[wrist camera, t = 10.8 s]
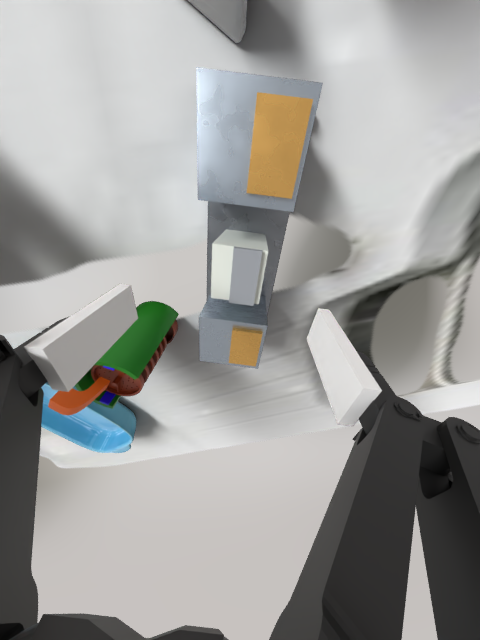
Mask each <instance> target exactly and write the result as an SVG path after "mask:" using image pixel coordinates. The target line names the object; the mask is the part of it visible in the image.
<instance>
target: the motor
mask: <svg viewBox="0 0 480 640" xmlns="http://www.w3.org/2000/svg"><path fill="white" fill-rule="evenodd" d="M136 311H137V315H138V319H137V320H136V321H135V322H134V323H133V324H132V325H131V326H130V327H129V329H128V330H127V331H126V332H125V333H124V334H123V335H122V336H121V337H120V338H119V339H118V340H117V341H116V342H115V343H114V344H113V345H112V347H111V348H110V349H109V350H108V351H107V352H106V353H105V354H104V355H103V356H102V357H101V358H100V359H99V360H98V361H97V362H96V363H95V365H94V366H93V367H92V368H91V369H90V370H89V371H88V372H87V373H86V374H85V375H84V376H83V377H82V378H81V379H80V380H79V381H78V383H77V384H76V385H75V387H76V388H77V390H78V391H77V390H75V389H73V388H72V389H71V390H70V391H69V392H65V391H58V392H57V393H56V394H55V395H54V396H53V397H52V398H51V399H50V401H49V405H48V407H49V408H51V409H52V410H54V411H56V412H58V413H60V414H63V415H73V414H75V413H77V412H79V411H81V410H82V409H84V408H85V407H87V406H88V405H89V404H90V403H91V402H92V401H93V402H95V403H97V404H99V405H102V406H105V407H108V408H111V409H113V408H114V406H115V405H116V403H117V402H118V400H119V398H120V397H121V396H133V395H136V394H138V393H139V392H140V391H141V389H142V388H143V386H144V383H145V382H146V381H147V379H148V377H149V375H150V374H151V372H152V370H153V369H154V366H155V365H156V364H157V362H158V360H159V358H160V357H161V355H162V353H163V351H164V350H165V348H166V346H167V344H168V343H170V342H171V341H172V339H173V338H174V336H175V334H176V332H177V330H178V324H177V321H176V318H177V316H178V313H177V312H176V311H175V310H174V309H172V308H171V307H170V306H168V305H165V304H163V303H160V302H155V301H150V302H144V303H142V304H140V305H139V306H138V307H137V308H136Z"/></svg>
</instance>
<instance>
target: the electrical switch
mask: <svg viewBox="0 0 480 640" xmlns="http://www.w3.org/2000/svg"><path fill="white" fill-rule="evenodd" d="M188 1H189V2H190V3H191V4H192V5H193V6H195V7H196V8H197V9H198V10H199V11H200V12H201V13H202V14H204V15H205V16H206V17H207V18H208V19H209V20H210V21H211V22H213V23H214V24H215V25H216V26H217V27H218V28H219V29H221V30H222V31H223V32H224V33H225V34H226V35H227V36H228V37H230V38H231V39H232V40H233V41H234V42H235V43H238V42H240V41H241V39H242V37H243V35H244V33H245V30H246V18H247V17H246V13H247V0H188Z"/></svg>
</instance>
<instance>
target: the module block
mask: <svg viewBox="0 0 480 640" xmlns="http://www.w3.org/2000/svg"><path fill="white" fill-rule="evenodd" d="M267 256H268V246H267V241H266V236H265V234H259V233H251V232H244V231H236V230H228V229H226V230H225V231H224V232H223V233H222V234H221V235H220V236H219V237H218V238H217V239H216V240H215V241H214V242H213V243H212V272H211V298H216V299H223V300H229V303H235V304H242V305H250V306H254V304H259V300H260V294H261V289H262V283H263V278H264V272H265V267H266V261H267Z"/></svg>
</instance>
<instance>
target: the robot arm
mask: <svg viewBox="0 0 480 640" xmlns="http://www.w3.org/2000/svg"><path fill="white" fill-rule="evenodd" d="M137 319H138V315H137V311H136V306H135V301H134V297H133V292H132V288H131V285H127V284H119V285H117V286H116V287H114V288H113V289H111V290H110V291H108V292H106V293H105V294H103V295H102V296H100V297H99V298H97V299H96V300H94V301H93V302H91V303H90V304H88V305H87V306H85V307H84V308H82V309H81V310H79V311H78V312H76V313H74V314H73V315H72V316H69V317H67V318H64V319H62V320H59V321H57V322H56V323H54V324H53V325H51V326H50V327H49V328H46V329H45V330H43V331H42V333H39V334H37V335H36V336H34V337H32V338H31V339H29V340H28V341H26V342H25V343H23V344H21V345H20V346H18V347H17V348H15V349H13V348H12V347H11V345H10V344H9V342H8V341H7V340H6V338H5V337H4V336H2V335H0V640H228V639H227V638H225V637H224V635H223V634H222V632H221V631H220V630H219V629H213V628H204V627H196V626H187V625H185V626H182V627H179V628H177V629H174V630H171V631H168V632H166V633H163V634H160V635H157V636H155V637H152V638H144V637H142V636H141V635H140V634H139V633H137V632H136V631H134V630H133V629H132V628H130V627H129V626H128V625H126V624H125V623H123V622H122V621H121V620H119V619H118V618H116V617H108V616H99V615H90V614H43V616H42V618H41V620H40V622H39V623H37V617H38V616H37V615H38V593H37V586H36V584H35V581H34V579H33V576H32V573H31V557H32V545H33V532H34V531H33V530H34V517H35V504H36V491H37V477H38V464H39V451H40V437H41V424H42V410H43V397H44V392H43V390H42V388H41V387H42V386H43V385H44V384H45V383H47V382H48V384H49V385H50V387H51V388H52V390H57V391H65V392H69V391H70V390H71V389H72V388H73V387H74V386H75V385H76V384H77V383H78V381H79V380H80V379H81V378H82V377H83V376H84V375H85V374H86V373H87V372H88V371H89V370H90V369H91V368H92V367H93V366H94V365H95V363H96V362H97V361H98V360H99V359H100V358H101V357H102V356H103V355H104V354H105V353H106V352H107V351H108V350H109V349H110V348H111V347H112V345H113V344H114V343H115V342H116V341H117V340H118V339H119V338H120V337H121V336H122V335H123V334H124V333H125V332H126V331H127V330H128V329H129V327H130V326H131V325H132V324H133V323H134V322H135V321H136V320H137ZM307 342H308V344H309V347H310V350H311V353H312V355H313V358H314V361H315V364H316V366H317V369H318V372H319V375H320V377H321V380H322V383H323V386H324V388H325V391H326V394H327V397H328V399H329V402H330V405H331V408H332V410H333V413H334V416H335V419H336V421H337V424H338V425H346V426H354V425H355V423H356V422H357V421H358V420H359V421H360V423H361V425H362V427H363V428H362V429H361V430H360V431H359V432H358V433H357V434H356V436H355V437H354V438H353V440H354V441H355V440H356V441H355V443H354V446H353V448H352V450H351V453H350V456H349V458H348V460H347V463H346V465H345V468H344V470H343V473H342V475H341V477H340V480H339V482H338V485H337V487H336V490H335V492H334V495H333V497H332V499H331V502H330V504H329V507H328V509H327V512H326V514H325V517H324V519H323V521H322V524H321V527H320V529H319V531H318V534H317V536H316V538H315V541H314V543H313V546H312V548H311V551H310V553H309V555H308V558H307V560H306V563H305V565H304V568H303V570H302V573H301V575H300V577H299V580H298V583H297V585H296V587H295V590H294V592H293V594H292V597H291V599H290V601H289V603H288V605H287V606H286V608H285V609H284V611H283V612H282V614H281V616H280V617H279V619H278V621H277V623H276V625H275V628H274V630H273V632H272V634H271V637H270V639H269V640H401V638H402V629H403V619H404V610H405V601H406V591H407V582H408V572H409V563H410V553H411V544H412V534H413V525H414V516H415V507H416V509H417V515H418V521H419V526H420V533H421V539H422V545H423V552H424V558H425V564H426V570H427V576H428V582H429V588H430V594H431V601H432V606H433V612H434V619H435V625H436V631H437V637H438V640H480V430H478V429H477V428H476V427H474V426H473V425H471V424H469V423H467V422H465V421H464V420H461V419H458V418H455V417H449V418H447V419H446V420H445V421H444V422H442V423H441V422H439V421H436V420H433V419H430V418H428V417H425V416H423V415H422V414H421V412H420V411H419V410H418V409H417V408H416V407H415V406H414V405H413V404H411V403H410V402H408V401H407V400H405V399H402V398H400V397H397V396H396V395H395V393H394V392H393V391H392V389H391V388H390V386H389V385H388V383H387V382H386V381H385V379H384V378H383V376H382V375H381V374H380V373H379V371H378V369H377V368H375V365H374V364H373V362H372V361H371V359H370V358H369V357H367V356H366V355H365V354H364V353H363V352H358V351H356V350H355V349H354V347H353V345H352V344H351V342H350V341H349V339H348V338H347V336H346V335H345V333H344V332H343V330H342V329H341V327H340V326H339V324H338V323H337V321H336V319H335V318H334V316H333V315H332V313H331V312H330V310H327V309H319V308H318V310H317V313H316V316H315V318H314V321H313V324H312V326H311V329H310V331H309V334H308V337H307Z"/></svg>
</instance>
